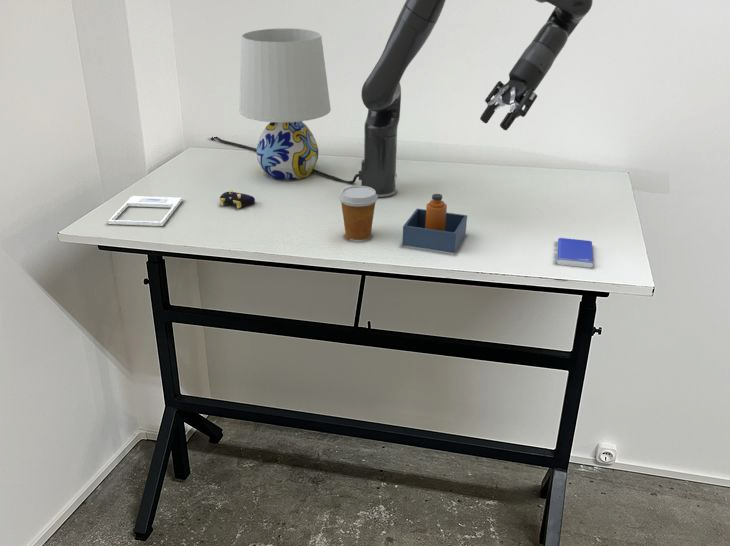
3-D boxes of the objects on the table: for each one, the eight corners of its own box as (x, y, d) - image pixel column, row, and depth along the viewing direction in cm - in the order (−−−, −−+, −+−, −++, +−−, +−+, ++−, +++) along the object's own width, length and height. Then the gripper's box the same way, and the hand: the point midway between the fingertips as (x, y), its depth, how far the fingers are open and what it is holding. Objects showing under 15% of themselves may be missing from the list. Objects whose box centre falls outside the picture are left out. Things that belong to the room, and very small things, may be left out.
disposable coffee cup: (348, 247, 177) (348, 201, 170) (333, 232, 184) (333, 188, 177) (383, 240, 180) (384, 195, 173) (367, 226, 187) (367, 182, 181)
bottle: (422, 241, 178) (424, 197, 172) (427, 233, 182) (430, 190, 176) (441, 244, 177) (444, 200, 170) (446, 236, 180) (449, 193, 174)
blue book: (593, 262, 166) (592, 240, 176) (557, 258, 168) (558, 237, 178) (592, 268, 167) (591, 246, 177) (556, 264, 169) (557, 243, 179)
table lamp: (283, 153, 238) (276, 24, 217) (349, 169, 225) (348, 32, 203) (226, 176, 220) (212, 36, 198) (294, 194, 207) (286, 47, 185)
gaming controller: (257, 198, 201) (248, 189, 196) (251, 216, 200) (241, 207, 195) (228, 193, 205) (218, 184, 199) (222, 210, 204) (212, 201, 198)
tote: (402, 247, 177) (403, 226, 174) (415, 228, 186) (416, 208, 183) (454, 255, 173) (455, 233, 170) (465, 235, 182) (467, 215, 179)
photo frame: (181, 197, 202) (161, 221, 187) (182, 200, 202) (162, 225, 187) (131, 195, 203) (107, 220, 188) (132, 199, 203) (108, 223, 188)
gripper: (505, 53, 175) (467, 110, 178) (542, 60, 164) (500, 121, 166) (523, 72, 179) (485, 127, 182) (559, 80, 168) (518, 139, 171)
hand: (492, 124), depth 174 cm, fingers open, 8 cm apart
